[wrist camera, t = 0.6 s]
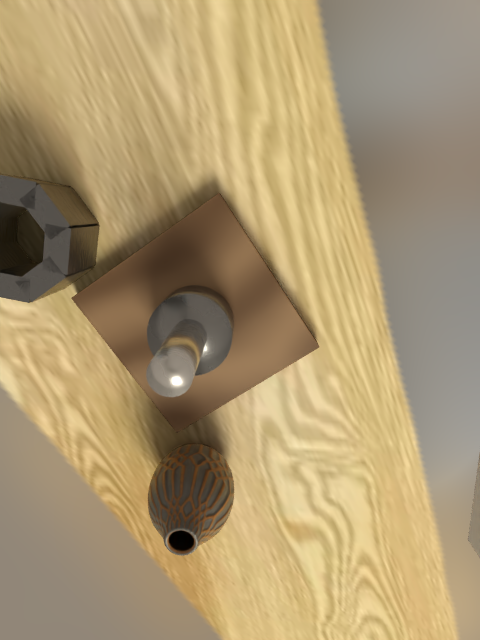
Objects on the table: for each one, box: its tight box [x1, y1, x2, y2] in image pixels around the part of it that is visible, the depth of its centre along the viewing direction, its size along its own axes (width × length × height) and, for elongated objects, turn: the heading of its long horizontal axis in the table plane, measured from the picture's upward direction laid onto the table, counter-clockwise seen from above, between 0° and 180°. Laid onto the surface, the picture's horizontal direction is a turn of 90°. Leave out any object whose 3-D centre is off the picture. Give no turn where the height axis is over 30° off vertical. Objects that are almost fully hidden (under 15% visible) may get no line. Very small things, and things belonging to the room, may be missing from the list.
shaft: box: [146, 285, 234, 397], centre depth 27 cm, size 6×6×10 cm
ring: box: [0, 174, 99, 303], centre depth 29 cm, size 8×8×5 cm
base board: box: [72, 193, 319, 432], centre depth 32 cm, size 14×14×1 cm
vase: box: [148, 444, 234, 555], centre depth 32 cm, size 7×7×9 cm
